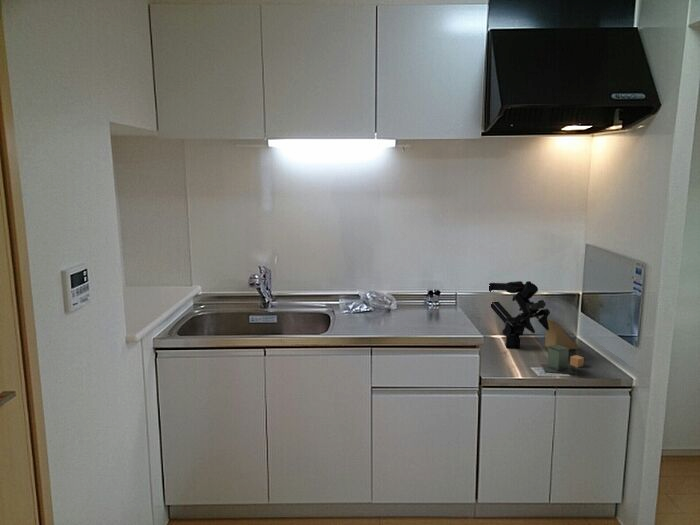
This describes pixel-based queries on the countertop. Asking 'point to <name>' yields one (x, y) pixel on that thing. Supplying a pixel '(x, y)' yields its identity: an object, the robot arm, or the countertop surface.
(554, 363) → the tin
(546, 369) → the mat
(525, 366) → the countertop surface
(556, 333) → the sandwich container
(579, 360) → the block
